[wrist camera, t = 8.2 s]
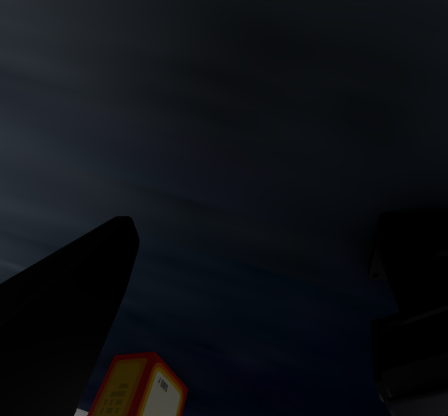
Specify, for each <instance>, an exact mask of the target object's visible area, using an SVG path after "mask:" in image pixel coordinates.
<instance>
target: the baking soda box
mask: <svg viewBox="0 0 448 416" xmlns="http://www.w3.org/2000/svg"><path fill="white" fill-rule="evenodd" d="M187 393H188V388H187V387H186V386H185V384H184V383H183V382H182V381H181V380H180V379H179V378H178V377H177V376H176V375H175V373H174V372H173V371H172V370H171V369H170V368H169V367H168V366H167V365H166V363H165V362H164V361H163V360H162V359H161V358H160V357H159V356H158V355H157V353H156V352H147V353H137V354H127V355H117V356H114V358H113V360H112V363H111V365H110V367H109V369H108V371H107V374H106V376H105V378H104V380H103V382H102V385H101V387H100V389H99V391H98V393H97V396H96V398H95V400H94V402H93V404H92V407H91V409H90V411H89V413H88V415H87V416H182V414H183V410H184V406H185V401H186V397H187Z"/></svg>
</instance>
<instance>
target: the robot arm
mask: <svg viewBox="0 0 448 416" xmlns="http://www.w3.org/2000/svg"><path fill="white" fill-rule="evenodd" d="M388 219H390V220H389V221H387V222H385V221H386V220H388ZM138 248H139V236H138V234H137V231H136V228H135V225H134V222H133V220H132V218H131V217H129V216H116V217H114V218H112V219H111V220H109V221H107V222H106V223H104V224H102V225H100V226H99V227H97V228H95V229H94V230H92V231H90V232H88V233H87V234H85V235H83V236H82V237H80V238H78V239H76V240H75V241H73V242H71V243H70V244H68V245H66V246H64V247H63V248H61V249H59V250H58V251H56V252H54V253H52V254H51V255H49V256H47V257H46V258H44V259H42V260H40V261H39V262H37V263H35V264H34V265H32V266H30V267H28V268H27V269H25V270H23V271H22V272H20V273H18V274H16V275H15V276H13V277H11V278H10V279H8V280H6V281H4V282H3V283H1V284H0V416H74V414H75V412H76V409H77V407H78V405H79V403H80V400H81V398H82V395H83V393H84V391H85V388H86V386H87V383H88V381H89V379H90V376H91V374H92V371H93V369H94V367H95V364H96V362H97V359H98V357H99V355H100V352H101V350H102V347H103V345H104V343H105V340H106V338H107V335H108V333H109V331H110V328H111V326H112V323H113V321H114V319H115V316H116V314H117V311H118V309H119V307H120V304H121V302H122V299H123V297H124V294H125V292H126V289H127V286H128V282H129V279H130V275H131V272H132V269H133V265H134V262H135V258H136V255H137V252H138ZM375 273H376V274H375ZM368 275H369V277H370V278H371V279H373V280H388V282H389V284H390V287H391V290H392V292H393V295H394V298H395V301H396V303H397V306H398V309H399V311H400V312H398V313H396V314H393V315H390V316H388V317H385V318H382V319H380V318H378V319H375V320H372V321H371V329H372V333H371V335H372V355H373V374H374V382H375V385H376V386H377V388H378V395H379V397H380V399H381V400H382V401H383V402H384V403H385V405H386V407H387V409H388V410H389V412H390V414H391V415H392V416H448V213H387V214H384V215H382V216H381V217H380V219H379V223H378V228H377V232H376V237H375V242H374V246H373V251H372V255H371V260H370V265H369V269H368Z"/></svg>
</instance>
